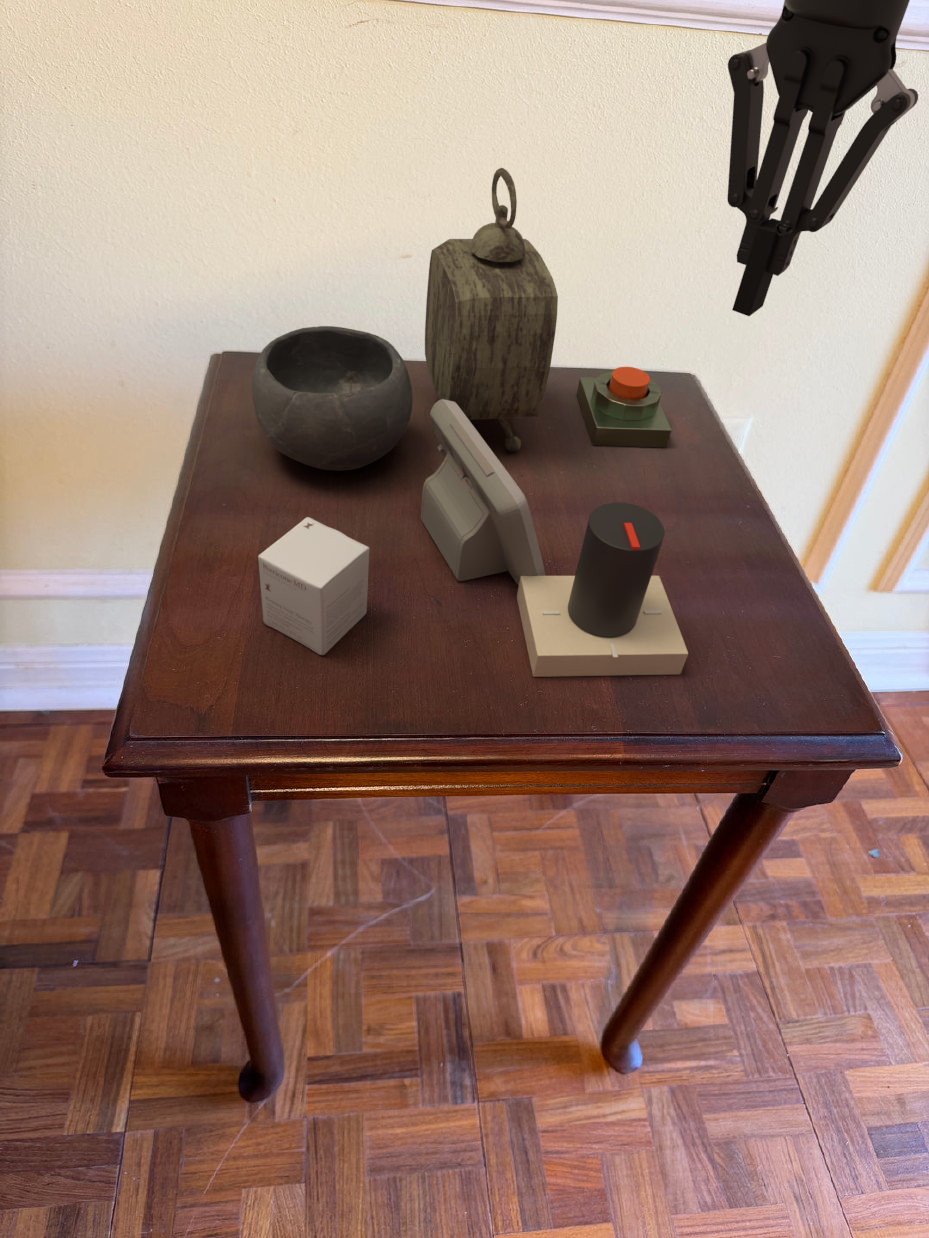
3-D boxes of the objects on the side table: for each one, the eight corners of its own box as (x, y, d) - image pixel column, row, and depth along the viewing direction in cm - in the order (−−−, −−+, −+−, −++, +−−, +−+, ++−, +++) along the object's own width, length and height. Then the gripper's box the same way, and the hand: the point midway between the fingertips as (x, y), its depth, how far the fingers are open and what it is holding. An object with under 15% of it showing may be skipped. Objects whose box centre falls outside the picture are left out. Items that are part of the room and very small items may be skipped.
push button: (649, 402, 94) (654, 387, 92) (612, 400, 93) (616, 385, 92) (641, 381, 96) (645, 367, 95) (605, 380, 96) (608, 365, 95)
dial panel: (651, 593, 78) (658, 570, 76) (681, 678, 71) (691, 656, 69) (515, 593, 76) (519, 570, 74) (533, 681, 69) (538, 657, 67)
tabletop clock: (533, 461, 90) (578, 206, 73) (446, 466, 88) (470, 205, 71) (498, 385, 100) (530, 144, 82) (418, 388, 98) (434, 142, 80)
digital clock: (548, 600, 76) (570, 499, 68) (443, 608, 74) (455, 506, 67) (503, 484, 87) (518, 387, 79) (411, 489, 85) (418, 390, 78)
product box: (261, 624, 71) (254, 554, 66) (309, 582, 75) (307, 513, 70) (322, 658, 69) (321, 589, 64) (369, 613, 73) (371, 545, 68)
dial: (561, 588, 73) (583, 498, 67) (627, 588, 74) (655, 499, 68) (574, 638, 69) (598, 547, 63) (644, 637, 70) (674, 547, 64)
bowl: (416, 495, 84) (423, 402, 77) (255, 497, 82) (246, 401, 75) (402, 409, 95) (406, 320, 88) (258, 408, 92) (251, 317, 85)
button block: (666, 447, 94) (676, 415, 91) (592, 445, 93) (600, 412, 90) (645, 397, 101) (653, 365, 98) (576, 394, 100) (582, 362, 97)
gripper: (743, -72, 56) (654, 295, 72) (953, -33, 51) (806, 352, 67) (788, -77, 60) (695, 269, 77) (986, -41, 55) (841, 321, 71)
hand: (747, 308), depth 72 cm, fingers closed
